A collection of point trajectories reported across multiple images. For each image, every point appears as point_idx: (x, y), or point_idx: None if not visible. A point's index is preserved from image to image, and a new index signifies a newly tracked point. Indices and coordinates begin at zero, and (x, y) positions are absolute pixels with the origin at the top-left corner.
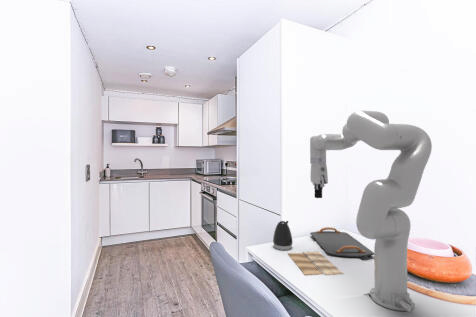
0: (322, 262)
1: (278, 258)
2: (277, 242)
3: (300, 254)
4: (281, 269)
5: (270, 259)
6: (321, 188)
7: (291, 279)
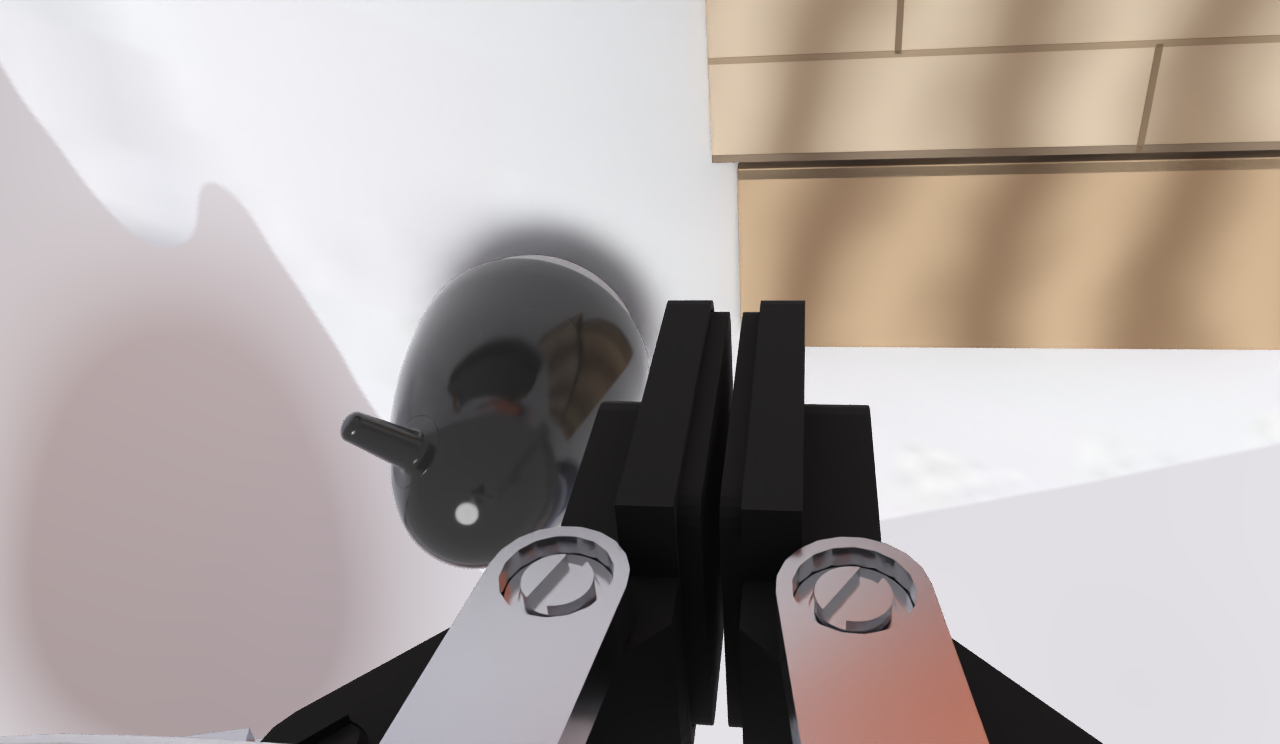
0: (1058, 39)
1: None
2: None
3: (784, 218)
4: (1029, 462)
5: None
6: (1002, 703)
7: (1244, 441)
